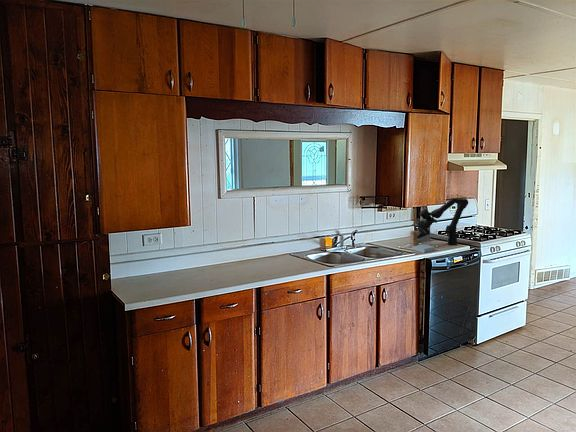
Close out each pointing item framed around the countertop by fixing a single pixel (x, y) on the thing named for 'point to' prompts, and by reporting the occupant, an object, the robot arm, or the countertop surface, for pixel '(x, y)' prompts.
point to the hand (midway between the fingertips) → (414, 237)
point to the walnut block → (414, 238)
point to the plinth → (424, 248)
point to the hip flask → (425, 238)
